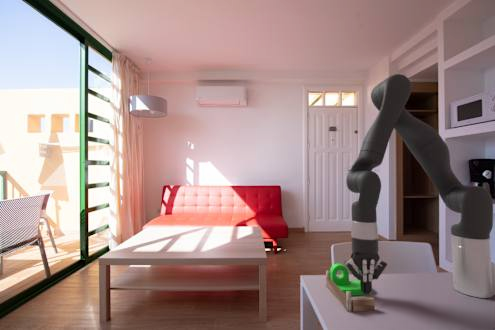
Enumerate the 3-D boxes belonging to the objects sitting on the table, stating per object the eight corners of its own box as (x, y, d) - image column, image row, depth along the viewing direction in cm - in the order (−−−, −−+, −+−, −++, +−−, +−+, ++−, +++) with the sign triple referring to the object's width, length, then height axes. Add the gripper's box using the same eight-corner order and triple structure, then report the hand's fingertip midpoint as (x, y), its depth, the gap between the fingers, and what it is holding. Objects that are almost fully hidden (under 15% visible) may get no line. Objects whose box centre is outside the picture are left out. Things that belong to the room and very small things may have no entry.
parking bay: (347, 284, 85) (347, 269, 85) (375, 310, 69) (374, 291, 69) (325, 285, 84) (325, 270, 85) (347, 311, 68) (347, 293, 69)
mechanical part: (337, 296, 77) (337, 270, 78) (330, 288, 83) (329, 263, 84) (375, 295, 78) (374, 268, 79) (365, 286, 84) (364, 262, 85)
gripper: (378, 232, 82) (379, 286, 81) (338, 233, 81) (339, 288, 80) (392, 238, 74) (394, 297, 74) (349, 239, 74) (351, 299, 73)
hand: (366, 292), depth 77 cm, fingers closed
